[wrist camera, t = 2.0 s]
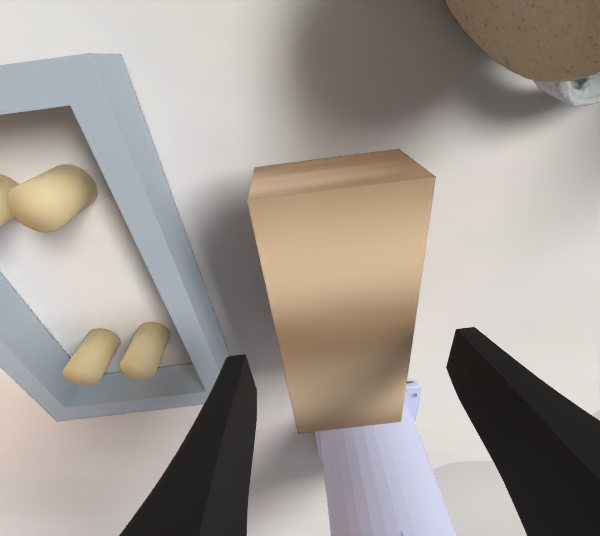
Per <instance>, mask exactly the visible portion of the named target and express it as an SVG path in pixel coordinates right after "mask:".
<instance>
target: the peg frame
mask: <svg viewBox="0 0 600 536" xmlns="http://www.w3.org/2000/svg"><path fill="white" fill-rule="evenodd" d="M62 106H71V108H72V110H73V112H74V115H75V117H76V119H77V121H78V123H79V125H80V127H81V129H82V131H83V133H84V136H85V138H86V140H87V142H88V144H89V146H90V148H91V150H92V152H93V154H94V157H95V159H96V161H97V163H98V165H99V167H100V169H101V171H102V173H103V176H104V178H105V180H106V182H107V184H108V186H109V188H110V190H111V192H112V194H113V197H114V199H115V201H116V203H117V205H118V207H119V209H120V211H121V213H122V215H123V218H124V220H125V222H126V224H127V226H128V228H129V230H130V232H131V234H132V237H133V239H134V241H135V243H136V245H137V247H138V249H139V251H140V253H141V255H142V258H143V260H144V262H145V264H146V266H147V268H148V270H149V272H150V274H151V276H152V279H153V281H154V283H155V285H156V287H157V289H158V291H159V293H160V295H161V298H162V300H163V302H164V304H165V306H166V308H167V310H168V312H169V314H170V316H171V319H172V321H173V323H174V325H175V327H176V329H177V331H178V333H179V335H180V337H181V340H182V342H183V344H184V346H185V348H186V350H187V352H188V354H189V356H190V359H191V361H192V363H193V364H185V365H176V366H168V367H159V368H158V366H159V363H160V361H161V358H162V356H163V353H164V351H165V348H166V345H167V343H168V340H169V338H170V333H169V331H168V330H167V328H165V327H164V326H162V325H160V324H158V323H144V324H142V325H141V326H140V327H139V328H138V330H137V332H136V334H135V336H134V338H133V340H132V342H131V344H130V345H129V347H128V349H127V351H126V353H125V355H124V357H123V359H122V361H121V363H120V370H121V371H122V372H117V373H109V374H104V372H105V371H106V369H107V367H108V365H109V363H110V362H111V360H112V358H113V356H114V354H115V353H116V351H117V349H118V347H119V345H120V339H119V337H118V336H117V335H116V334H115V333H113V332H111V331H109V330H106V329H94V330H91V331H90V332H89V333H88V334H87V336H86V337H85V339H84V340H83V342H82V343H81V344H80V346H79V347H78V349H77V350H76V352H75V353H74V355H73V356H72V357H71V359H70V358H69V356H68V355H67V354H66V353H65V351H64V350H63V349H62V348H61V347H60V345H59V344H58V343H57V342H56V340H55V339H54V338H53V337H52V335H51V334H50V333H49V332H48V331H47V329H46V328H45V327H44V326H43V324H42V323H41V322H40V321H39V319H38V318H37V317H36V316H35V315H34V313H33V312H32V311H31V310H30V308H29V307H28V306H27V305H26V304H25V302H24V301H23V300H22V299H21V297H20V296H19V295H18V294H17V292H16V291H15V290H14V289H13V288H12V286H11V285H10V284H9V283H8V281H7V280H6V279H5V278H4V276H3V275H2V274H1V273H0V367H1V368H2V369H3V370H4V371H5V372H6V373H7V374H8V375H9V376H10V377H11V378H12V379H13V380H14V381H15V382H16V383H17V384H18V385H19V386H20V387H22V388H23V389H24V390H25V391H26V392H27V393H28V394H29V395H30V396H31V397H32V398H33V399H34V400H35V401H36V402H37V403H38V404H39V405H40V406H41V407H42V408H43V409H44V410H45V411H46V412H47V413H48V414H49V415H50V416H52V417H53V418H54V419H55V420H56V421H65V420H74V419H82V418H91V417H99V416H108V415H117V414H125V413H134V412H142V411H151V410H159V409H168V408H176V407H185V406H194V405H202V404H204V403H205V402H206V400H207V398H208V396H209V394H210V392H211V390H212V388H213V386H214V383H215V381H216V379H217V377H218V375H219V373H220V370H221V368H222V366H223V364H224V361H225V359H226V358H227V357H228V356H230V354H229V351H228V348H227V346H226V343H225V340H224V337H223V334H222V332H221V329H220V326H219V323H218V321H217V318H216V315H215V312H214V310H213V307H212V304H211V301H210V298H209V296H208V293H207V290H206V287H205V285H204V282H203V279H202V276H201V274H200V271H199V268H198V265H197V262H196V260H195V257H194V254H193V251H192V249H191V246H190V243H189V240H188V238H187V235H186V232H185V229H184V226H183V224H182V221H181V218H180V215H179V213H178V210H177V207H176V204H175V202H174V199H173V196H172V193H171V190H170V188H169V185H168V182H167V179H166V177H165V174H164V171H163V168H162V165H161V163H160V160H159V157H158V154H157V152H156V149H155V146H154V143H153V141H152V138H151V135H150V132H149V129H148V127H147V124H146V121H145V118H144V116H143V113H142V110H141V107H140V105H139V102H138V99H137V96H136V93H135V91H134V88H133V85H132V82H131V80H130V77H129V74H128V71H127V69H126V66H125V63H124V60H123V57H122V55H121V54H93V53H88V54H81V55H73V56H66V57H59V58H51V59H44V60H36V61H29V62H22V63H14V64H7V65H0V115H2V114H9V113H17V112H25V111H32V110H40V109H47V108H55V107H62ZM96 197H97V187H96V184H95V182H94V181H93V179H92V178H91V177H90V176H89V175H88V174H87V173H86V172H85V171H84V170H82V169H80V168H78V167H76V166H73V165H67V164H64V165H59V166H57V167H55V168H53V169H50V170H48V171H46V172H44V173H42V174H40V175H38V176H36V177H34V178H32V179H30V180H28V181H26V182H24V183H22V184H20V185H19V184H18V183H17V182H15V181H14V180H12V179H11V178H9V177H7V176H4V175H0V227H1V226H2V225H4V224H6V223H7V222H9V221H11V220H12V219H14V218H16V219H17V220H18V221H19V222H21V223H22V224H24V225H25V226H27V227H29V228H31V229H33V230H36V231H40V232H53V231H56V230H58V229H59V228H60V227H62V226H63V225H64V224H66V223H67V222H68V221H70V220H71V219H72V218H73V217H75V216H76V215H77V214H79V213H80V212H81V211H82V210H84V209H85V208H86V207H88V206H89V205H90V204H91V203H93V202H94V201H95V199H96Z"/></svg>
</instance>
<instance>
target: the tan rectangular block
mask: <svg viewBox="0 0 600 536" xmlns="http://www.w3.org/2000/svg"><path fill="white" fill-rule="evenodd" d="M435 179H436V176H434V175H433V174H432V173H430V172H429V171H428V170H426V169H425V168H424V167H422V166H421V165H420V164H418V163H417V162H416V161H414V160H413V159H412V158H410V157H409V156H408V155H406V154H405V153H404V152H402V151H401V150H400V149H394V150H386V151H379V152H371V153H363V154H355V155H347V156H340V157H332V158H324V159H316V160H308V161H301V162H293V163H285V164H277V165H269V166H262V167H254V172H253V176H252V181H251V185H250V190H249V194H248V199H247V203H248V207H249V212H250V216H251V221H252V225H253V230H254V235H255V239H256V244H257V248H258V253H259V257H260V262H261V266H262V271H263V276H264V280H265V285H266V289H267V294H268V298H269V303H270V308H271V312H272V317H273V321H274V326H275V330H276V335H277V340H278V344H279V349H280V353H281V358H282V362H283V367H284V371H285V376H286V381H287V385H288V390H289V394H290V399H291V403H292V408H293V413H294V417H295V422H296V426H297V431H298V434H300V433H309V432H317V431H326V430H335V429H343V428H352V427H361V426H370V425H378V424H387V423H396V422H401V418H402V411H403V404H404V397H405V390H406V383H407V376H408V369H409V362H410V355H411V348H412V341H413V334H414V327H415V320H416V313H417V306H418V298H419V291H420V284H421V277H422V270H423V263H424V256H425V249H426V242H427V235H428V228H429V221H430V214H431V207H432V200H433V193H434V186H435Z"/></svg>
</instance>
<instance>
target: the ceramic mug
mask: <svg viewBox="0 0 600 536" xmlns="http://www.w3.org/2000/svg"><path fill="white" fill-rule="evenodd" d="M445 2H446V4H447V6H448V8H449V10H450V11H451V13H452V14H453V16H454V17H455V18H456V20H457V21H458V23H459V24H460V25H461V27H462V28H463V30H464V31H465V32H466V34H467V35H468V36H469V37H470V38H471V39H472V40H473V41H474V42H475V43H476V44H477V45H478V46H479V47H480V48H481V49H482V50H483V51H484V52H485V53H487V54H488V55H489V56H490V57H491V58H492V59H493V60H494V61H496V62H497V63H498V64H500V65H502V66H504V67H506V68H507V69H509V70H511V71H513V72H515V73H517V74H519V75H521V76H523V77H525V78H527V79H532V80H534V82H535V83H536V85H537V86H538V88H539V89H541V90H542V91H544V92H546V93H547V94H549V95H551V96H552V97H554V98H556V99H557V100H559V101H561V102H564V103H566V104H568V105H572V106H575V107H576V106H588V105H592V104H595V103H599V102H600V0H445Z"/></svg>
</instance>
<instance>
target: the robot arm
mask: <svg viewBox="0 0 600 536" xmlns="http://www.w3.org/2000/svg"><path fill="white" fill-rule="evenodd" d="M446 368H447V371H448V373H449V376H450V378H451V381H452V384H453V386H454V388H455V391H456V393H457V395H458V398H459V400H460V401H461V403H462V405H463V407H464V409H465V411H466V413H467V414H468V416H469V418H470V420H471V422H472V424H473V425H474V427H475V429H476V431H477V433H478V434H479V436H480V438H481V440H482V442H483V443H484V445H485V447H486V449H487V451H488V453H489V454H490V456H491V458H492V460H493V462H494V463H495V465H496V467H497V469H498V471H499V473H500V475H501V477H502V479H503V481H504V483H505V485H506V488H507V490H508V492H509V495H510V497H511V499H512V501H513V503H514V505H515V508H516V510H517V512H518V515H519V517H520V519H521V522H522V524H523V526H524V529H525V531H526V534H527V536H600V421H599V420H598V419H596V418H595V417H593V416H592V415H590V414H589V413H587V412H586V411H584V410H583V409H581V408H580V407H578V406H577V405H576V404H574V403H573V402H571V401H570V400H568V399H567V398H566V397H564V396H563V395H561V394H560V393H558V392H557V391H556V390H554V389H553V388H552V387H550V386H549V385H548V384H546V383H545V382H543V381H542V380H541V379H539V378H538V377H537V376H536V375H534V374H533V373H532V372H530V371H529V370H528V369H526V368H525V367H524V366H522V365H521V364H520V363H519V362H517V361H516V360H515V359H514V358H512V357H511V356H510V355H509V354H507V353H506V352H505V351H503V350H502V349H501V348H500V347H499V346H497V345H496V344H495V343H494V342H492V341H491V340H490V339H489V338H487V337H486V336H485V335H484V334H482V333H481V332H480V331H479V330H477V329H476V328H475V327H471V328H462V329H456V332H455V335H454V339H453V343H452V347H451V351H450V355H449V359H448V363H447V367H446ZM420 395H421V387H420V385H419V384H418V383H407V384H406V390H405V397H404V404H403V411H402V418H401V422H396V423H387V424H378V425H370V426H361V427H352V428H343V429H335V430H326V431H317V432H315V437H316V443H317V449H318V456H319V459H320V460H321V461H323V467H324V476H325V485H326V494H327V503H328V513H329V522H330V531H331V536H457V534H456V531H455V528H454V526H453V523H452V520H451V518H450V515H449V512H448V510H447V507H446V504H445V502H444V499H443V496H442V494H441V491H440V489H439V486H438V483H437V480H436V478H435V475H434V472H433V470H432V467H431V464H430V461H429V459H428V456H427V453H426V451H425V448H424V445H423V443H422V440H421V437H420V435H419V432H418V429H417V427H416V424H415V421H416V416H417V410H418V405H419V400H420ZM256 421H257V389H256V386H255V383H254V380H253V377H252V373H251V370H250V367H249V364H248V361H247V358H246V355H236V356H228V357H227V358H226V359H225V361H224V364H223V366H222V368H221V370H220V373H219V375H218V377H217V379H216V381H215V383H214V386H213V388H212V390H211V392H210V394H209V396H208V398H207V400H206V402H205V403H204V405H203V407H202V409H201V411H200V413H199V415H198V417H197V419H196V421H195V422H194V424H193V426H192V428H191V429H190V431H189V433H188V434H187V436H186V438H185V440H184V441H183V443H182V445H181V446H180V448H179V450H178V452H177V453H176V455H175V456H174V458H173V460H172V461H171V463H170V464H169V466H168V467H167V469H166V471H165V472H164V474H163V475H162V477H161V478H160V480H159V481H158V483H157V484H156V486H155V487H154V489H153V490H152V491H151V493H150V494H149V496H148V497H147V498H146V500H145V501H144V503H143V504H142V505H141V507H140V508H139V510H138V511H137V512H136V514H135V515H134V517H133V518H132V519H131V521H130V522H129V523H128V525H127V526H126V527H125V529H124V530H123V531H122V533H121V534H120V535H119V536H247V507H248V494H249V485H250V476H251V467H252V458H253V449H254V440H255V431H256Z"/></svg>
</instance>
